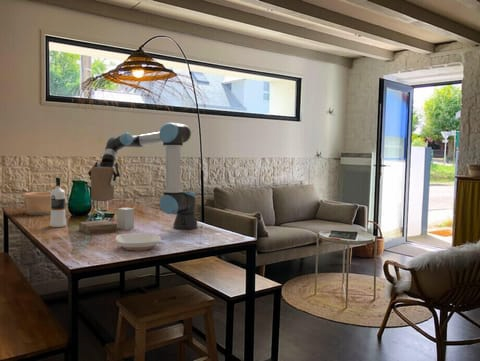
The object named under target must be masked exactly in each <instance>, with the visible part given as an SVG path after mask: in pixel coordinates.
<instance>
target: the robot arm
mask: <svg viewBox="0 0 480 361" xmlns="http://www.w3.org/2000/svg"><path fill="white" fill-rule="evenodd" d="M191 136H192V131H191V129H190V127H189V126H188V125H186V124H184V123H178V122H177V123H176V122H167V123H164V124H163V125H162V126H161V127H160V129H159V131H157V132H156V131H155V132H151V133H146V134H145V133H144V134H138V135H137V134H136V135H133V134H132V133H130V132H125V133H121V135H118V136H117V137H115V136H113V137H109V138H108V139H107V142H106V145H105V147H104V148H105V149H104V152H103V154H102V158H101V161H100V162H98V161H96V162H95V163H94V165H93V166H92V167H113V168H115V171H116V172H115V171H114V172H113V174H114V175H112V179H111V182H110V184H111V186H113V182H114V183H115V182H116V180H117V178H118V177H120V175H121V174H120V171H119V163H118V162H116V163H115V160H116V157H117V153H118V151H119V150H121V149H124V148H126V147H127V148H143V147H145V146H153V145H159V144H160V145H161V144H162V146H163V147H164V148H165V189H164V190H163V195H162V196H161V197H160V198H159V207H160V209H161V211H162V212H163V213H165V214H167V215H175V214H176V215H175V218H174V221H173V224H172V225H173V228H174V229H178V230H193V229H192V228H194V229H197V228H198V222H197V218H196V200H197V197H196V193H195V192H194V191H188V190H183V189H181V149H182V148H183V146H184V143H187V142H188V141H189V140H190V138H191ZM87 175H88V176H89V184H90V185H91V169H90V170H89V171H88V174H87ZM196 227H197V228H196Z"/></svg>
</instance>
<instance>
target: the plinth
mask: <svg viewBox="0 0 480 361" xmlns="http://www.w3.org/2000/svg"><path fill="white" fill-rule="evenodd" d="M78 224H79V225H78V226H79V227H78V229H79V231H80V232H83V233H85V234H88V235H90V236H92V235H98V234H99V235H100V234H106V233H109V234H110V233H116V232H118V228H117V222H116V223H115V222H113V221H109V220H107V219H100V220H89V221H79V223H78Z"/></svg>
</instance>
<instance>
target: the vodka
mask: <svg viewBox="0 0 480 361" xmlns="http://www.w3.org/2000/svg"><path fill="white" fill-rule="evenodd" d="M50 192H51V193H50V194H51V214H50V220H49V226H50V227H51V228H63V227H66V226H67V218H66V191H65V190H64V189H63V188H61V177H55V188H54V189H52V190H51V191H50Z"/></svg>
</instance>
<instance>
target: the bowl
mask: <svg viewBox="0 0 480 361" xmlns="http://www.w3.org/2000/svg"><path fill="white" fill-rule="evenodd" d="M161 240H162V239H161V236H159V234H156V233H154V232H151V233H150V232H138V233H137V232H135V233H133V232H132V233H121V234H118V235H116V236H115V241H116V242H117V243H118V244H119V245H121V247H123V248H124V249H125V251H128V250H144V251H147V250H146V249H150V250H151V249H153V248H154V247H155V246H156V245H157V244H158V243H159V242H160V241H161Z"/></svg>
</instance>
